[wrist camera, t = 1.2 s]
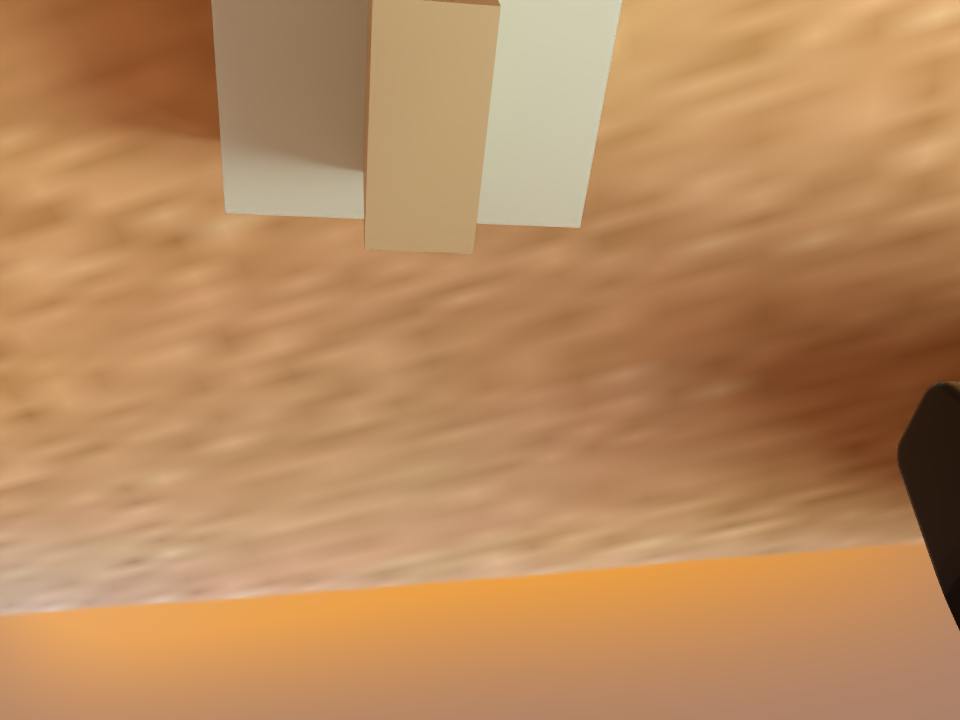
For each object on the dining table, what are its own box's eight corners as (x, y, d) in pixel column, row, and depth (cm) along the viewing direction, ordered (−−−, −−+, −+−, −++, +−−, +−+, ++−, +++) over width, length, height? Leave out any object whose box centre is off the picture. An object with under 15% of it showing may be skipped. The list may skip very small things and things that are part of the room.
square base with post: (550, 156, 21) (612, 308, 16) (243, 140, 20) (204, 296, 15) (596, -131, 18) (693, -55, 13) (227, -168, 17) (170, -101, 12)
